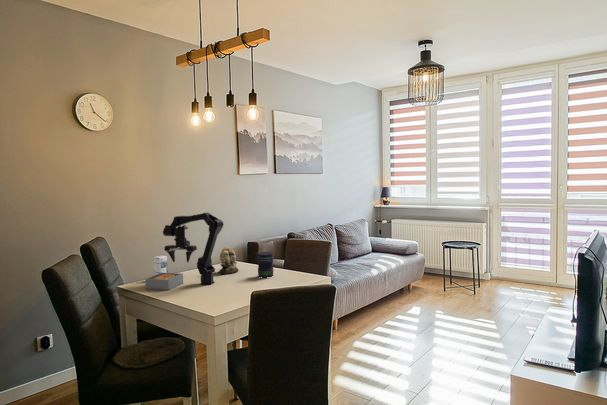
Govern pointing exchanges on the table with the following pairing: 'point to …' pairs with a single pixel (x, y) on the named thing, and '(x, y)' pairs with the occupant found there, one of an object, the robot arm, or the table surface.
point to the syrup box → (160, 264)
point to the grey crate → (164, 282)
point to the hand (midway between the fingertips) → (180, 262)
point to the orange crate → (165, 277)
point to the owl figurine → (228, 261)
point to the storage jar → (265, 264)
